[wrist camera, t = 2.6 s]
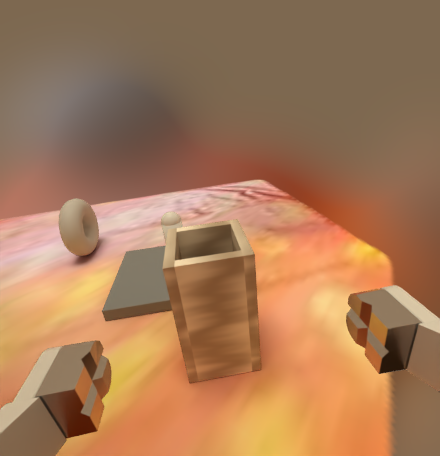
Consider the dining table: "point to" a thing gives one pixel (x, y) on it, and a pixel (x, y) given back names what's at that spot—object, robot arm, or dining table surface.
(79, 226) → the donut
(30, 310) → the dining table surface
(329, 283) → the dining table surface
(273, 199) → the dining table surface
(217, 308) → the sleeve
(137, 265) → the post board
